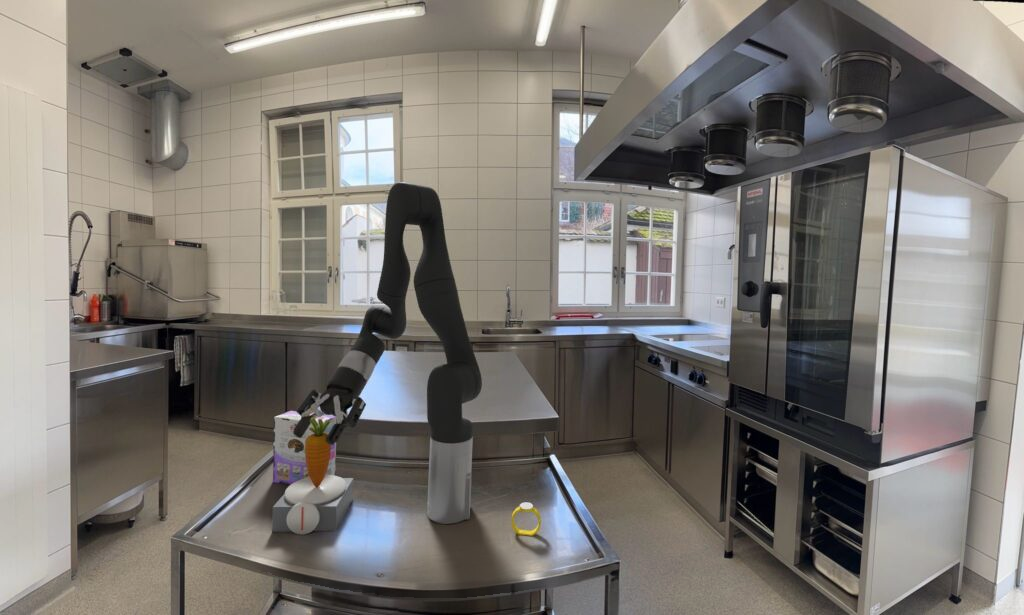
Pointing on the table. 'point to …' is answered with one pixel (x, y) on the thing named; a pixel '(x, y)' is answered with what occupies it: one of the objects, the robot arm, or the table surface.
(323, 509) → the scale base
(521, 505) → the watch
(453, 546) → the table surface
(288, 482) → the candy box
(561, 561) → the table surface
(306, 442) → the carrot
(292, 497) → the scale pan
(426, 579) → the table surface
